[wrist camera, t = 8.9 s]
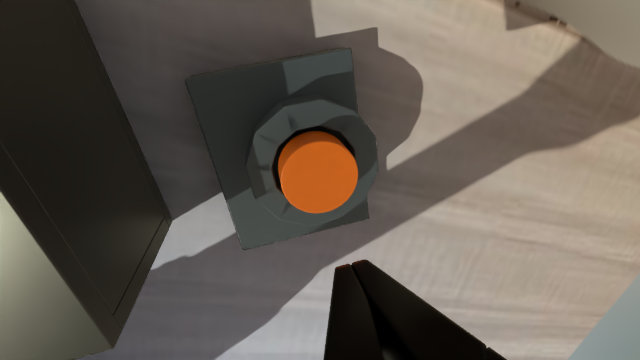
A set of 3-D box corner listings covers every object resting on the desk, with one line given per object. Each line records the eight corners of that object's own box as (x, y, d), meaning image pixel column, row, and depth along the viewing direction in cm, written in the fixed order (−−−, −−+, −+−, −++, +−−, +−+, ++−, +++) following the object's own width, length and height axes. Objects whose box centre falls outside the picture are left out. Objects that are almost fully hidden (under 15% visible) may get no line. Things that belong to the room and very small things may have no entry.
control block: (364, 205, 21) (384, 234, 17) (243, 235, 20) (241, 271, 17) (346, 46, 16) (369, 47, 13) (190, 75, 15) (174, 83, 12)
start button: (352, 188, 16) (362, 203, 15) (286, 204, 16) (289, 221, 14) (343, 123, 15) (354, 132, 13) (270, 139, 14) (272, 150, 13)
